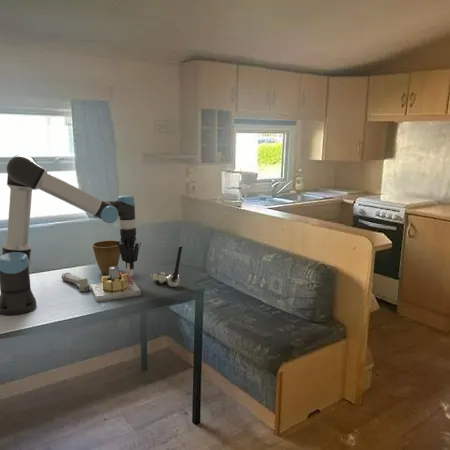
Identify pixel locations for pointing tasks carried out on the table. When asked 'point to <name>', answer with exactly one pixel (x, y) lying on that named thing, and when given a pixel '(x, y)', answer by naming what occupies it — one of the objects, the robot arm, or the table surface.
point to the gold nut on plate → (109, 295)
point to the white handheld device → (77, 281)
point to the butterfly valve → (173, 277)
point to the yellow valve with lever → (115, 282)
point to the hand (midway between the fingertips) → (130, 275)
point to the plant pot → (106, 254)
